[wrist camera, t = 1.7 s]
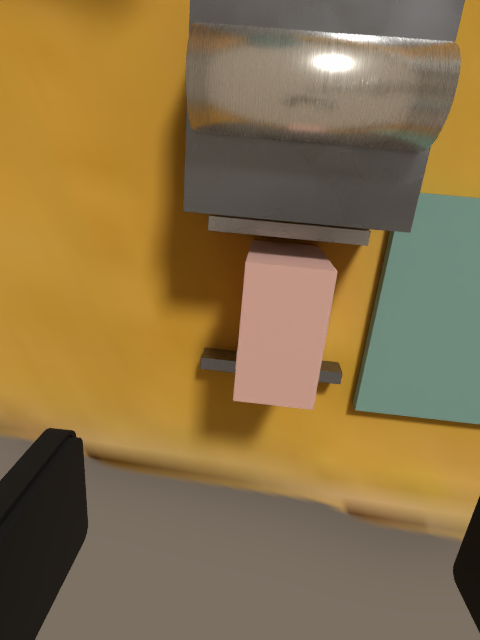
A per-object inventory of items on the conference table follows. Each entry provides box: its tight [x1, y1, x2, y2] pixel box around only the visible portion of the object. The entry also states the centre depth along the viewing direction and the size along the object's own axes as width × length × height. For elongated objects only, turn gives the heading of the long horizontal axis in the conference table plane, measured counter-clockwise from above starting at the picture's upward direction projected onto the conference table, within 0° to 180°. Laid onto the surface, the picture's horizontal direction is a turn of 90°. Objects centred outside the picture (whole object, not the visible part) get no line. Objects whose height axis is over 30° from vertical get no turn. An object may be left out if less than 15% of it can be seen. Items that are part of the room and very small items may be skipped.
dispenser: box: [183, 0, 465, 384], centre depth 19 cm, size 10×20×8 cm, turn 175°
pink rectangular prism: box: [233, 240, 338, 410], centre depth 21 cm, size 4×7×7 cm, turn 175°
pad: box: [353, 193, 480, 424], centre depth 23 cm, size 12×14×1 cm
